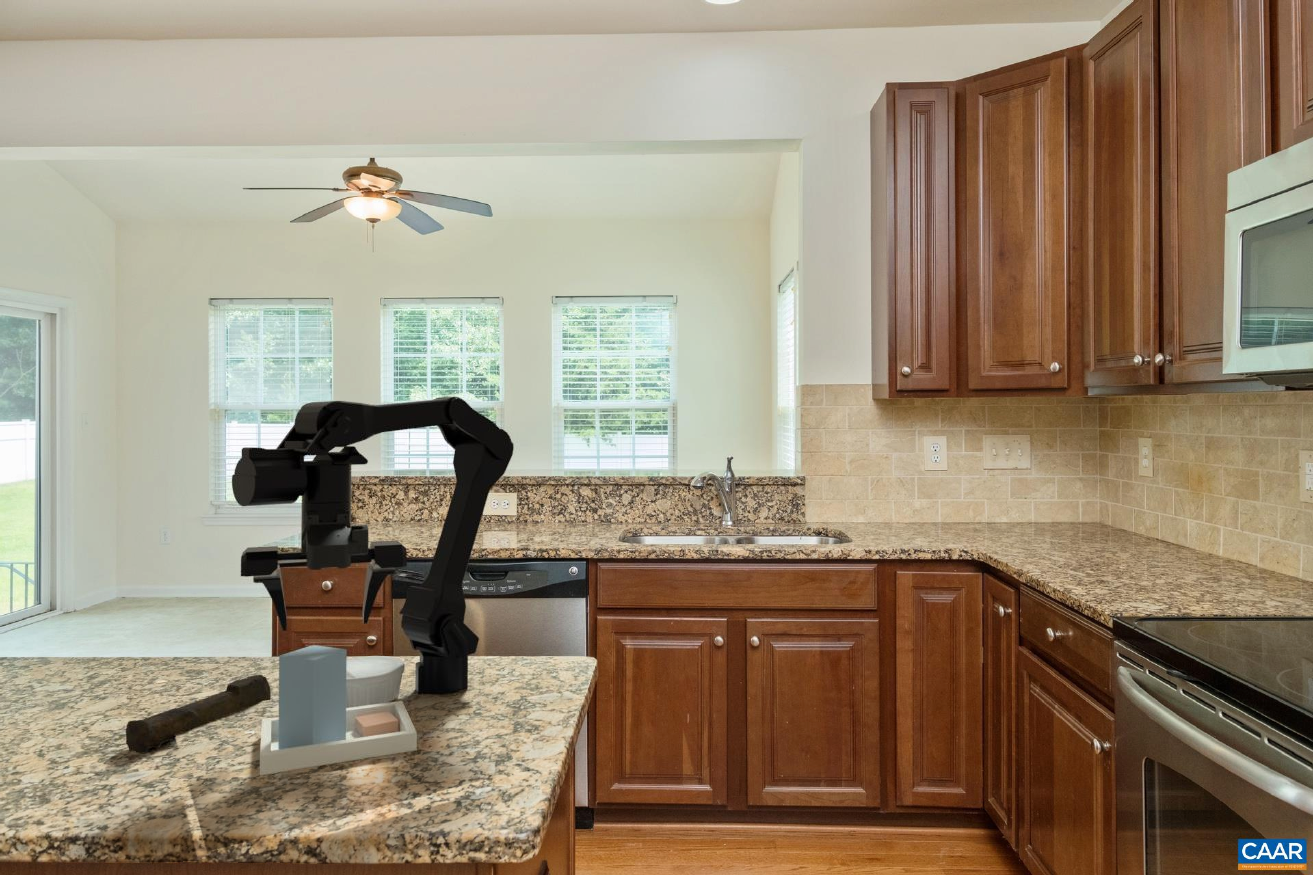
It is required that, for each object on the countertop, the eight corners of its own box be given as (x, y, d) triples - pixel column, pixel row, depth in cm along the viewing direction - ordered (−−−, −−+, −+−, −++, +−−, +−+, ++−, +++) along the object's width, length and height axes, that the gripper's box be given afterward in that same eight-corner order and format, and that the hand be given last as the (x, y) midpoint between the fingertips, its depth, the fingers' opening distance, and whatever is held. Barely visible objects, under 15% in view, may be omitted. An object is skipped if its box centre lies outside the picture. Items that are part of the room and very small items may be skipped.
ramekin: (297, 712, 105) (298, 672, 105) (358, 688, 116) (358, 652, 116) (364, 723, 101) (364, 682, 101) (420, 697, 112) (420, 660, 112)
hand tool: (144, 758, 90) (145, 717, 90) (122, 751, 92) (123, 712, 92) (284, 707, 108) (284, 673, 108) (263, 703, 109) (263, 669, 109)
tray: (401, 724, 101) (401, 700, 101) (416, 758, 90) (416, 732, 90) (261, 744, 94) (262, 719, 94) (259, 784, 83) (259, 755, 83)
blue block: (312, 737, 93) (313, 644, 93) (345, 744, 92) (346, 649, 92) (278, 753, 89) (279, 655, 89) (312, 760, 87) (313, 660, 87)
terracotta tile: (388, 722, 98) (388, 710, 98) (398, 732, 95) (398, 720, 95) (354, 729, 96) (355, 717, 96) (364, 739, 93) (364, 726, 93)
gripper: (239, 509, 87) (237, 650, 87) (413, 504, 95) (413, 633, 95) (243, 501, 97) (242, 628, 97) (401, 498, 105) (400, 615, 105)
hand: (325, 626), depth 98 cm, fingers open, 9 cm apart
